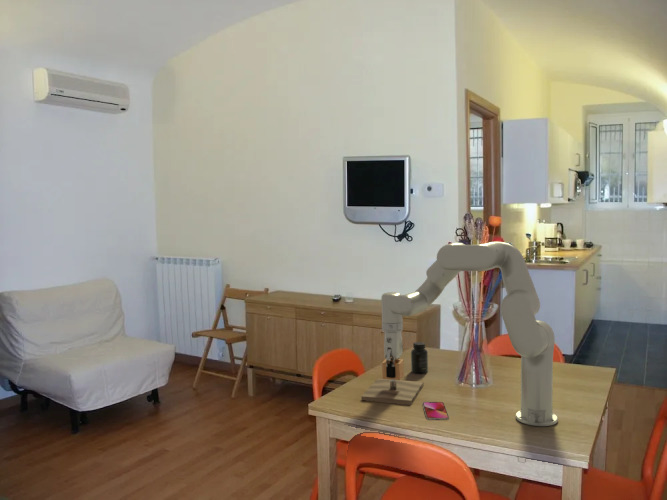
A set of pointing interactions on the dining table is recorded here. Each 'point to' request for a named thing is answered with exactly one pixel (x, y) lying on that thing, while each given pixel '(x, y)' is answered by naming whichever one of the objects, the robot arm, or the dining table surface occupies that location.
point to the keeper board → (393, 392)
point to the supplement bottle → (419, 358)
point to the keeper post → (393, 384)
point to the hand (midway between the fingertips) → (393, 374)
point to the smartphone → (435, 411)
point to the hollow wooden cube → (398, 369)
